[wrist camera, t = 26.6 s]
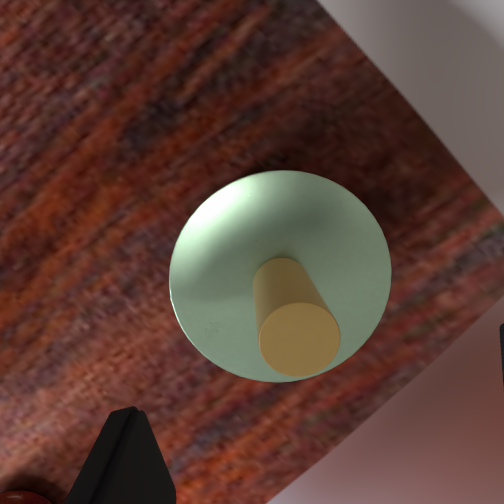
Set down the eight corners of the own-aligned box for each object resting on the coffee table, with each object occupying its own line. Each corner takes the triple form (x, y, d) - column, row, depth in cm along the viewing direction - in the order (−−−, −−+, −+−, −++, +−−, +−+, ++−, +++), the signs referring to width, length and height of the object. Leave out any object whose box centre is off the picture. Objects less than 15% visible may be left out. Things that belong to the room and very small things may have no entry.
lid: (364, 144, 19) (442, 131, 12) (398, 345, 22) (476, 435, 15) (143, 202, 20) (83, 225, 12) (206, 392, 23) (189, 502, 15)
